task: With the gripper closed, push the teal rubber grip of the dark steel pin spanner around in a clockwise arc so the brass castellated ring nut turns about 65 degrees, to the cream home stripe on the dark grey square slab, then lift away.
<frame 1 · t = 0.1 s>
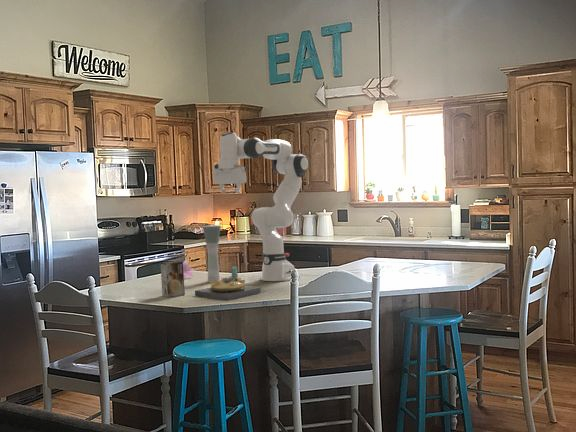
hand: (230, 193, 325), 48 cm above the countertop, fingers open, 8 cm apart
coffee box: (173, 295, 313), on the countertop
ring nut: (229, 278, 314), point 7 cm above the countertop, hinge at 0.0°
lily: (184, 278, 366), on the countertop
dark grey square slab: (228, 294, 310), on the countertop
container: (213, 282, 351), on the countertop
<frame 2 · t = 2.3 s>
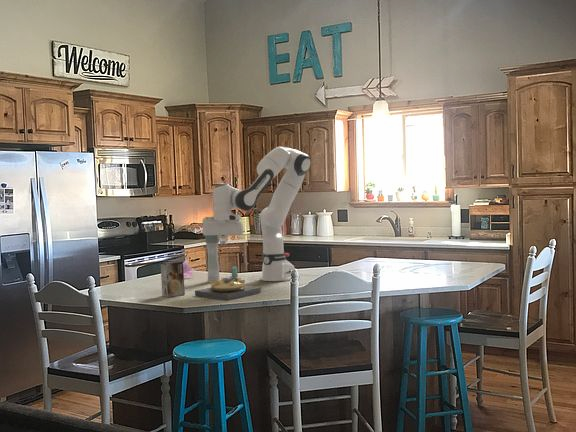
hand: (223, 244, 323), 23 cm above the countertop, fingers closed
nothing on the countertop moved.
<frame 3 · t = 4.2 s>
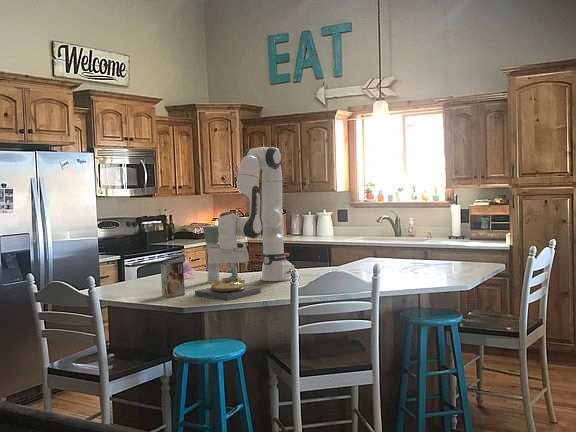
hand: (229, 272, 324), 8 cm above the countertop, fingers closed
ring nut: (229, 278, 314), point 7 cm above the countertop, hinge at 0.0°, touching gripper
everything else where it was.
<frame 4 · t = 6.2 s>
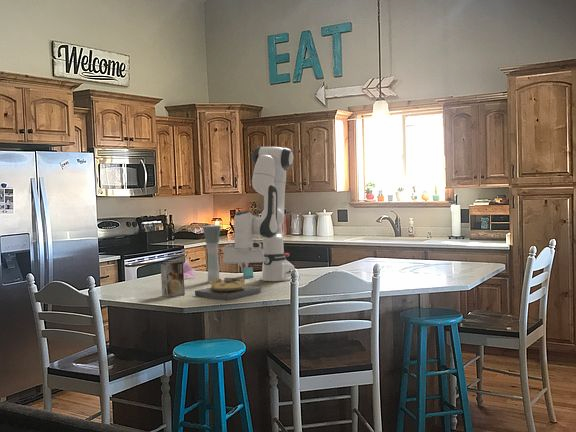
hand: (244, 272, 320), 9 cm above the countertop, fingers closed
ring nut: (233, 278, 313), point 7 cm above the countertop, hinge at 33.8°, touching gripper
everything else where it was.
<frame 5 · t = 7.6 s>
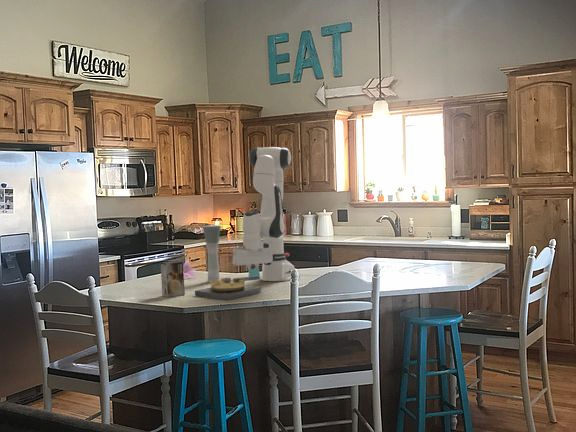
hand: (253, 273, 317), 9 cm above the countertop, fingers closed
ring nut: (235, 279, 311), point 7 cm above the countertop, hinge at 57.7°, touching gripper
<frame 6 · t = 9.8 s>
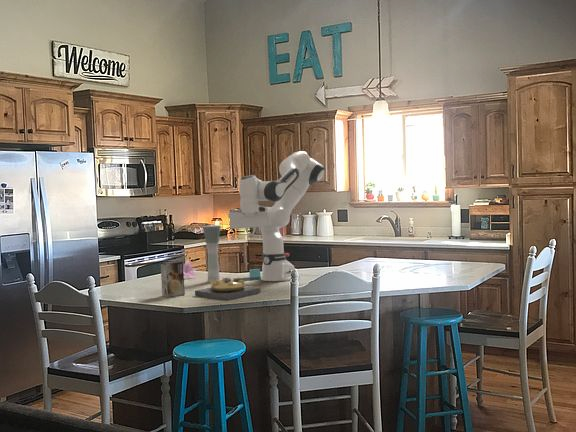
hand: (251, 237, 318), 26 cm above the countertop, fingers closed
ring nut: (235, 279, 311), point 7 cm above the countertop, hinge at 63.4°
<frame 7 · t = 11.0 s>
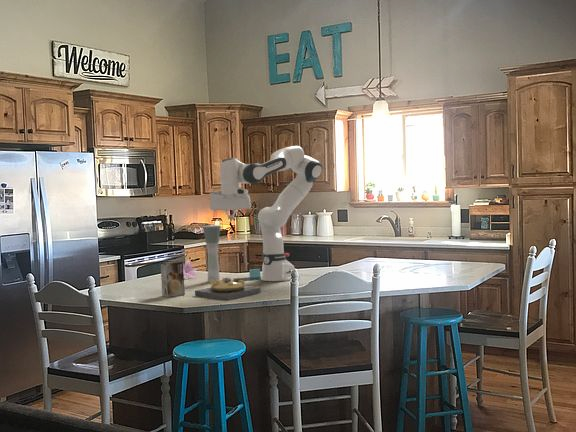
hand: (231, 218, 322), 35 cm above the countertop, fingers closed
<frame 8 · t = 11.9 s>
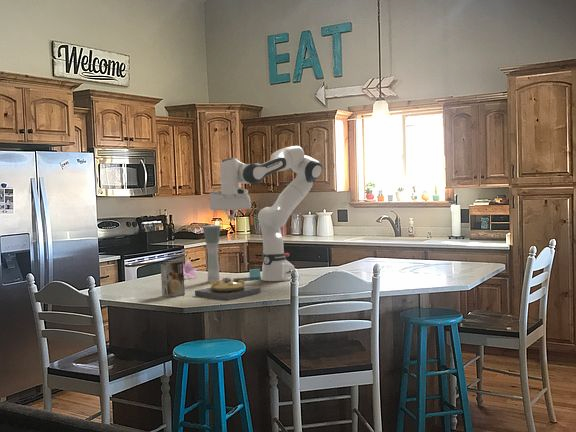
hand: (231, 218, 322), 35 cm above the countertop, fingers closed
at the end: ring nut at +63° (first picture: +0°); coffee box moved 0.2 cm from its start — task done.
